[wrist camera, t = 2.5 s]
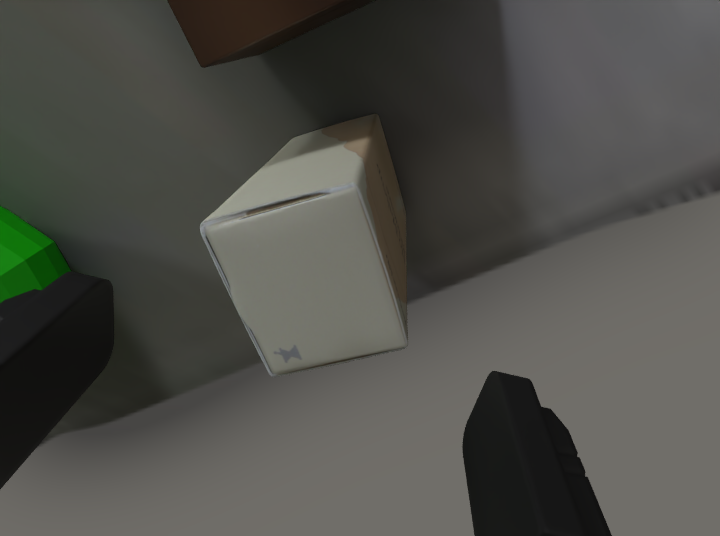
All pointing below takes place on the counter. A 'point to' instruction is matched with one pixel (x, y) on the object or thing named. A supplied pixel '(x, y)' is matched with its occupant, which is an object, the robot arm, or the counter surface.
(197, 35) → the shelf
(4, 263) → the plastic bottle
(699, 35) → the counter surface
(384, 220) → the box
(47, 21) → the counter surface
